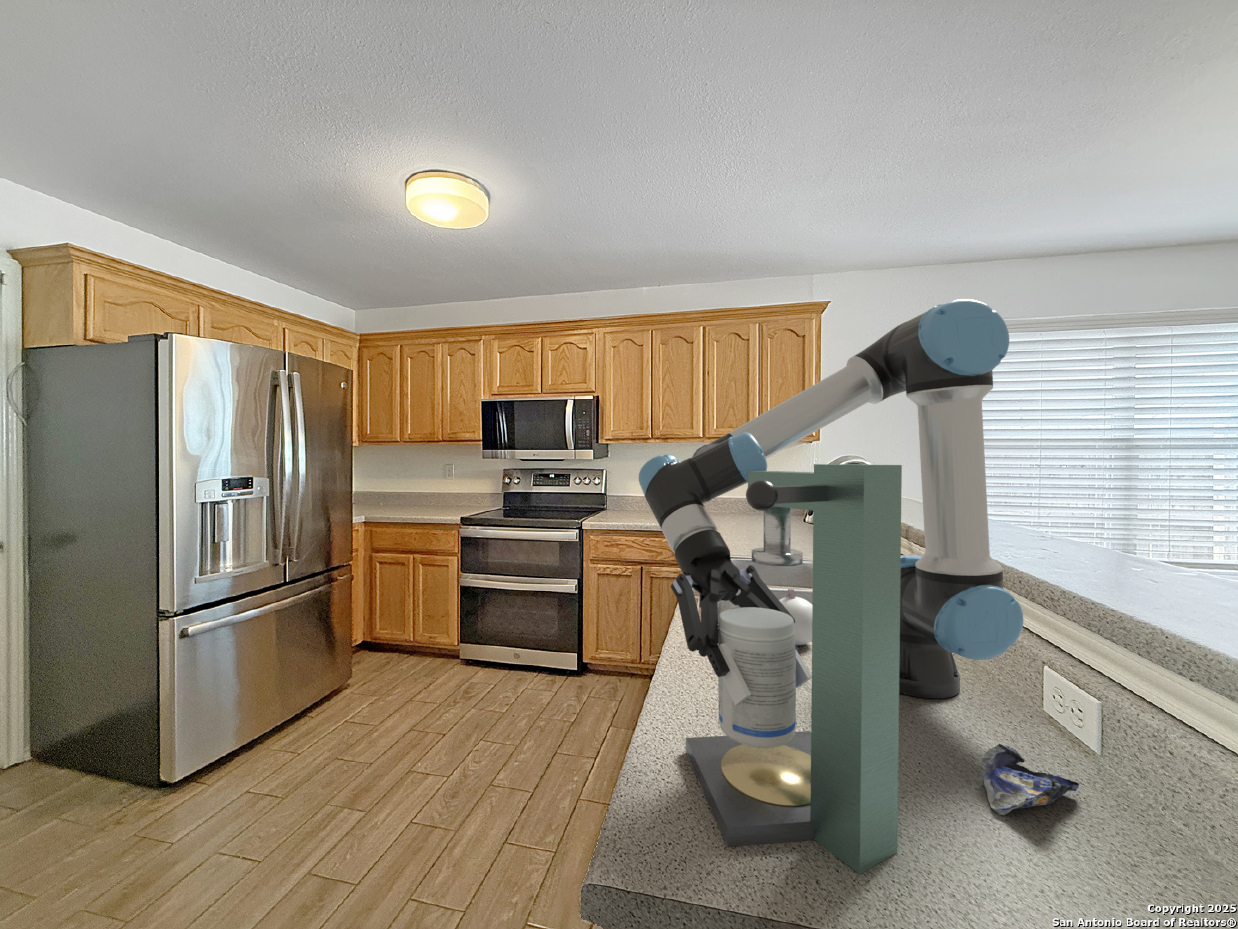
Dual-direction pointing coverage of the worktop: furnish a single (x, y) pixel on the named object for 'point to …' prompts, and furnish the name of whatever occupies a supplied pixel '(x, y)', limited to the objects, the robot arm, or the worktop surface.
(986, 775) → the snack package
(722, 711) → the supplement tub
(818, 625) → the arbor press
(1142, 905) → the worktop surface
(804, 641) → the ornament
